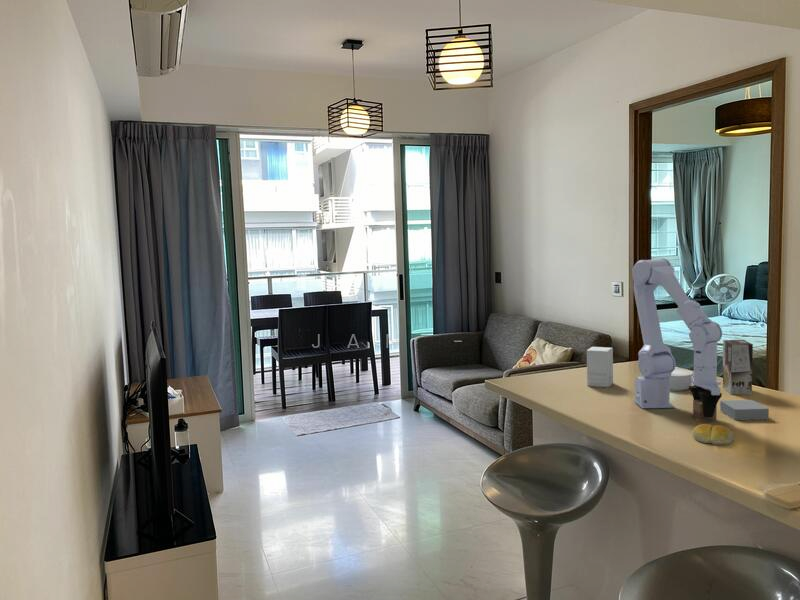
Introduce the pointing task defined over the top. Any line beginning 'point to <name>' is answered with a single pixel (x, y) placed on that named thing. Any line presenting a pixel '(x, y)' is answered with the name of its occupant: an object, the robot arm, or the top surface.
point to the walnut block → (701, 412)
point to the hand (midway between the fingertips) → (704, 414)
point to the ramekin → (680, 379)
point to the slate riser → (744, 410)
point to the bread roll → (713, 434)
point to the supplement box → (599, 366)
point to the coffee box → (737, 366)
